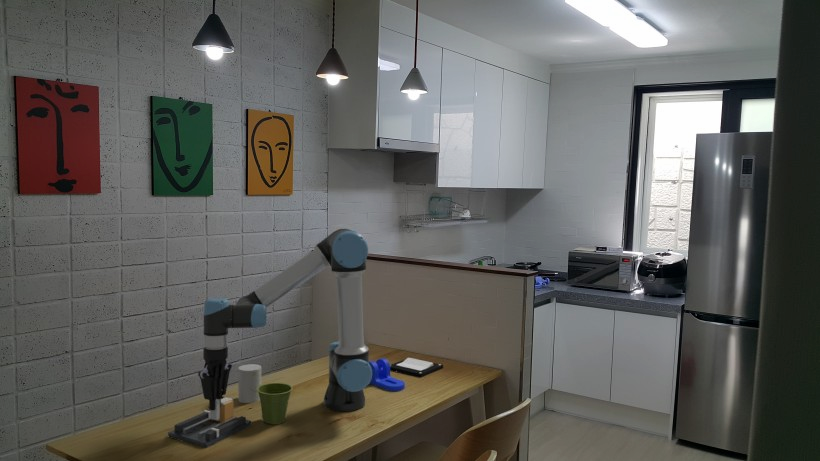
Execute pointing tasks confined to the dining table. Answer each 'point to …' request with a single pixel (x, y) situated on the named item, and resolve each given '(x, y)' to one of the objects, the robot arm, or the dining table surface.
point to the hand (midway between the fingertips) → (214, 418)
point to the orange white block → (226, 409)
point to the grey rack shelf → (214, 431)
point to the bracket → (384, 376)
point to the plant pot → (274, 401)
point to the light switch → (415, 367)
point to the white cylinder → (249, 383)
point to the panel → (199, 430)
